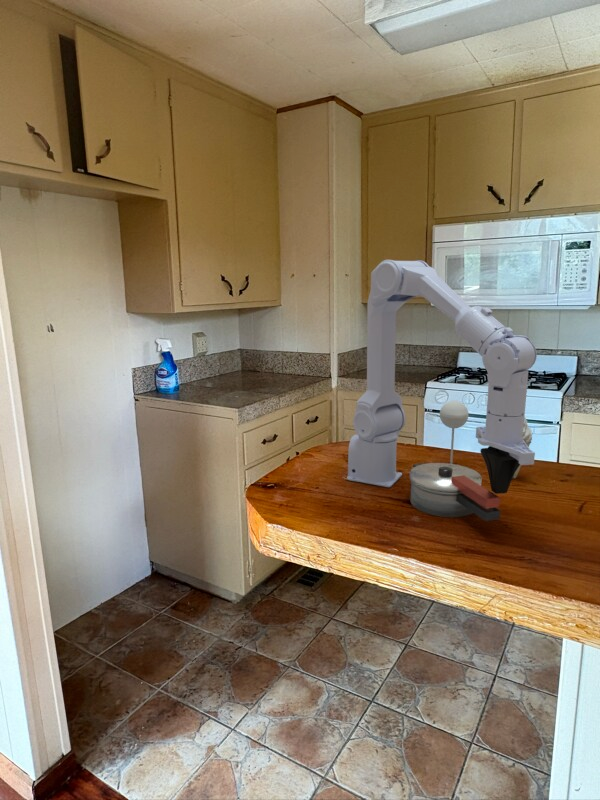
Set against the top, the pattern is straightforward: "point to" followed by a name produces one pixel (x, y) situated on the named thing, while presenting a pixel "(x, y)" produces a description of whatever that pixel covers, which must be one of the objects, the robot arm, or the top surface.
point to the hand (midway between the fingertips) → (499, 491)
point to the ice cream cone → (525, 440)
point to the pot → (448, 503)
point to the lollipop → (453, 418)
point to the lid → (454, 481)
